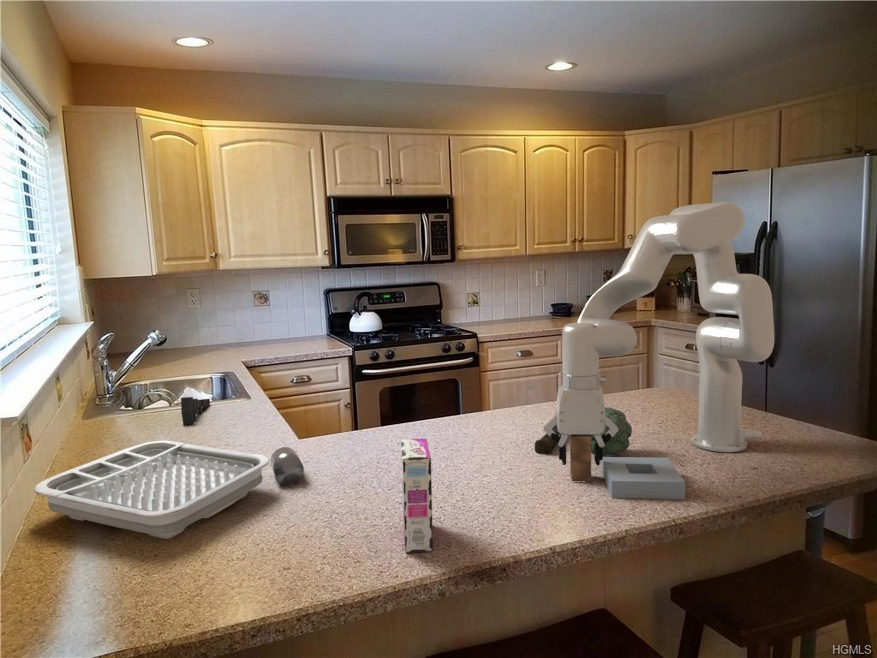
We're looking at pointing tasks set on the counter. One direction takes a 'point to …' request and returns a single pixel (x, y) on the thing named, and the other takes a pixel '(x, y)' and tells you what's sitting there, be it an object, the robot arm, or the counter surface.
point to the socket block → (642, 478)
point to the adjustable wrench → (192, 409)
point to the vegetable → (620, 438)
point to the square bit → (580, 458)
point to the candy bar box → (417, 495)
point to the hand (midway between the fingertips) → (580, 462)
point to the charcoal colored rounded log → (545, 443)
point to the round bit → (286, 466)
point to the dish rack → (154, 486)
